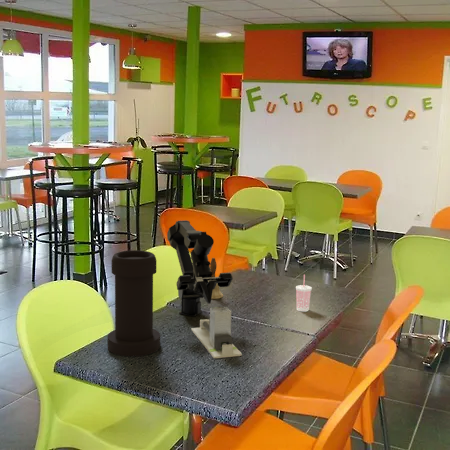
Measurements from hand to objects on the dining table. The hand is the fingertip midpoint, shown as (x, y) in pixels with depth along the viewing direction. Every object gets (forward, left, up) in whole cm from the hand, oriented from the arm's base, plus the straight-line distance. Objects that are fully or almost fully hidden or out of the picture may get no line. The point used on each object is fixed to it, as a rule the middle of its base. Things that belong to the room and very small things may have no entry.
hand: (209, 303), depth 205 cm
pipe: (-15, -22, -11) cm, 29 cm away
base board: (+6, -6, -11) cm, 13 cm away
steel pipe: (+5, -5, -10) cm, 12 cm away
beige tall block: (+9, -9, -11) cm, 16 cm away
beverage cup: (+19, +42, -11) cm, 48 cm away
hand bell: (-19, +40, -11) cm, 46 cm away
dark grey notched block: (+11, -11, -11) cm, 19 cm away
